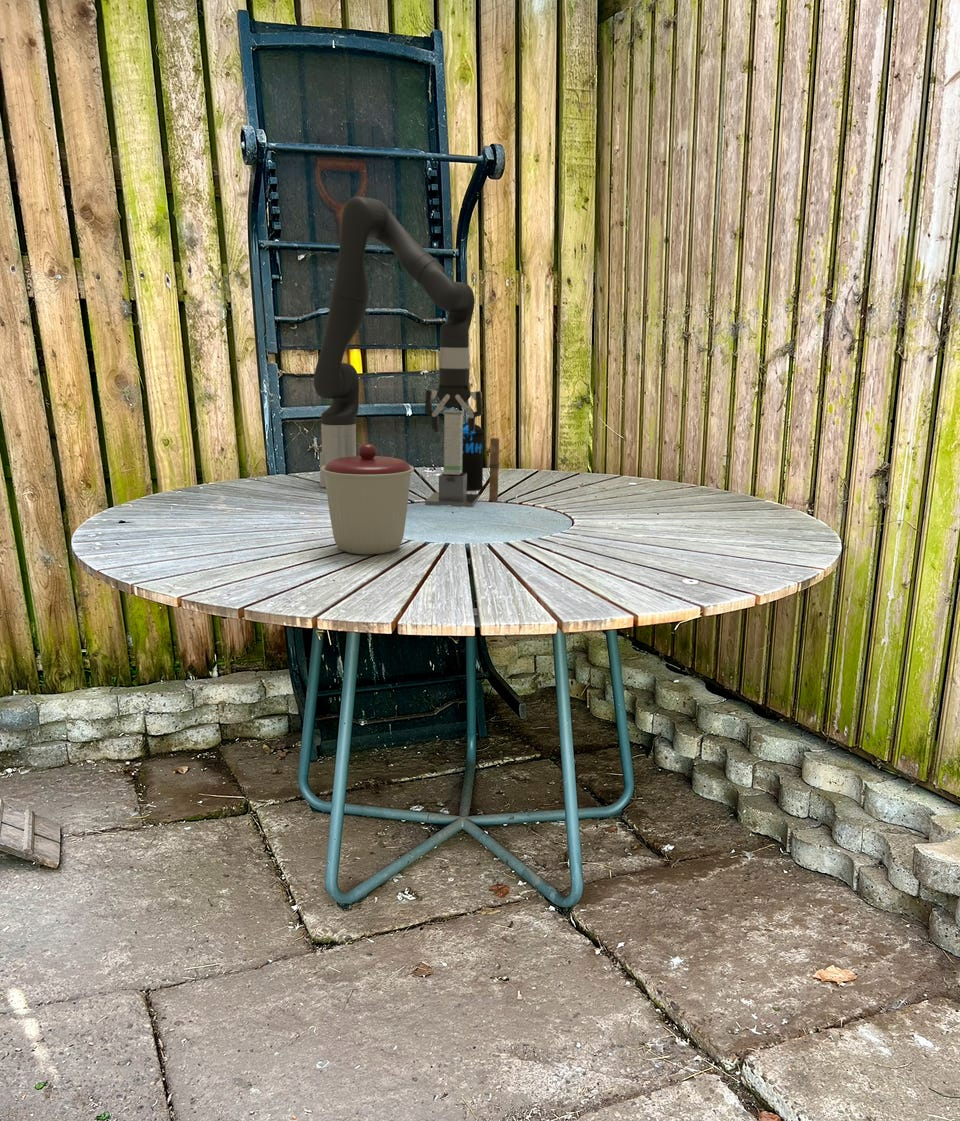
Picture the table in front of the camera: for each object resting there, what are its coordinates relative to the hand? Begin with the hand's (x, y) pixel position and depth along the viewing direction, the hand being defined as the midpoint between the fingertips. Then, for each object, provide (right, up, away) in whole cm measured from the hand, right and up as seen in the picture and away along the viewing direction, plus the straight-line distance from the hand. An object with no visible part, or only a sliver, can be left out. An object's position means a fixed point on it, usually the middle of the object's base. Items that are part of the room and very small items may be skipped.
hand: (453, 432), depth 224 cm
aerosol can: (+3, -12, +24) cm, 27 cm away
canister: (-16, -30, -45) cm, 56 cm away
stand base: (0, -17, +5) cm, 18 cm away
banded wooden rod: (+10, -17, +7) cm, 21 cm away
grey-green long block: (0, -10, +3) cm, 10 cm away
